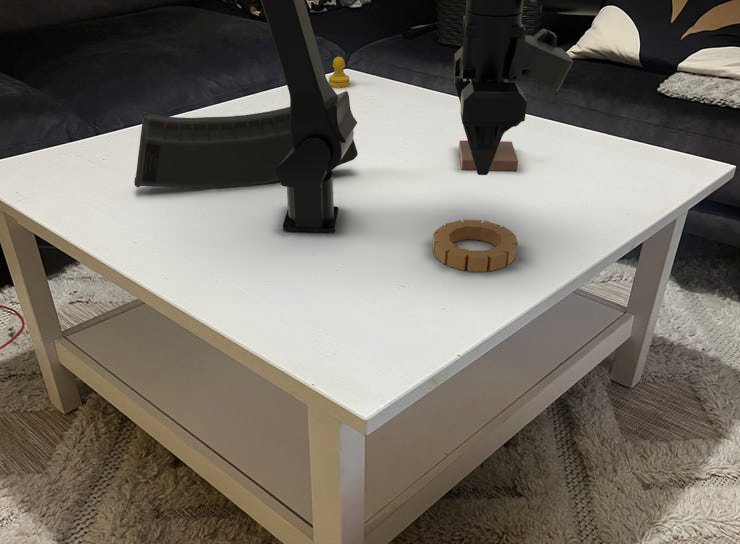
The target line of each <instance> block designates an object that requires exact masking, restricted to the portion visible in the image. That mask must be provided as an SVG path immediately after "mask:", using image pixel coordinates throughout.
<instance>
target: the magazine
mask: <svg viewBox="0 0 740 544" xmlns="http://www.w3.org/2000/svg"><path fill="white" fill-rule="evenodd" d="M141 123H142V124H141V130H140V137H139V146H138V155H137V163H136V169H135V171H136V173H135V177H134V186H135V188H140V187H151V188H152V187H153V188H154V187H155V188H180V189H181V188H183V189H217V188H219V189H220V188H236V187H248V186H257V185H265V184H270V183H275V182H280V181H279V179H278V176H277V174H276V168H277V167H278V166H279V165H280V163H281V162H282V161H283V159H284V158H285V157H286V156H287V154H288V153H289V152H290V150H291V149H292V148H293V143H292V136H291V129H290V106H287V107H282V108H278V109H273V110H269V111H262V112H257V113H248V114H241V115H231V116H230V115H229V116H202V117H201V116H199V117H179V116H178V117H176V116H166V115H159V114H153V113H149V112H148V111H142V121H141ZM358 154H359V152H358V149H357V145H356V142H355V139H354V138H353V140H352V143H351V144H350V146H349V148H348V149H347V151H346V153H345V154H344V156H343V158H342V159H341V161H340V163H339V164H338V166H339V167H340V166H341V165H343V164H346V163H349V162H352V161H354V160H356V158H357V157H358ZM338 166H337V167H338Z"/></svg>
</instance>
